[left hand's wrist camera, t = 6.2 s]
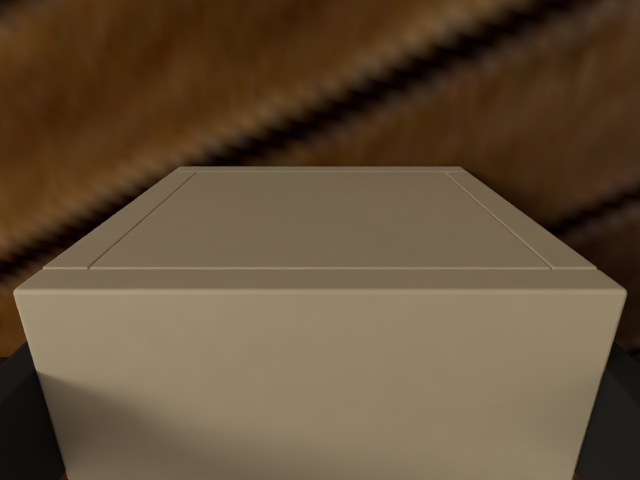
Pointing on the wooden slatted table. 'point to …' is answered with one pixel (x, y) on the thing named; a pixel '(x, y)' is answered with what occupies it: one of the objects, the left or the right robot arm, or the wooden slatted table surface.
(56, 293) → the cabinet
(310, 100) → the wooden slatted table surface
